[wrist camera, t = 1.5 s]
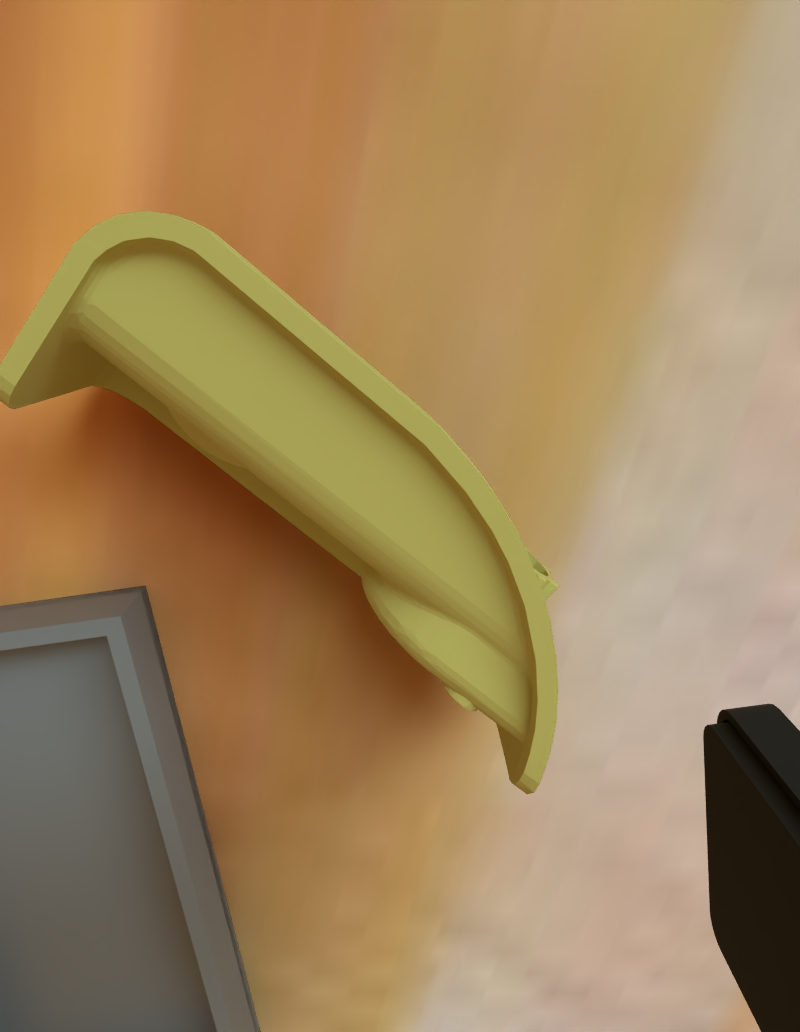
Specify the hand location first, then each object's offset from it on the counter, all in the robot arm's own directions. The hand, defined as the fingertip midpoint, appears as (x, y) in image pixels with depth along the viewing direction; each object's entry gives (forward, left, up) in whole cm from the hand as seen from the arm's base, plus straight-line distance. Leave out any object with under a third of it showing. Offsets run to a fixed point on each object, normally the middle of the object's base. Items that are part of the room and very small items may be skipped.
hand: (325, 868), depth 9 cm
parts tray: (+16, -16, -22) cm, 31 cm away
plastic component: (0, 0, -22) cm, 22 cm away
